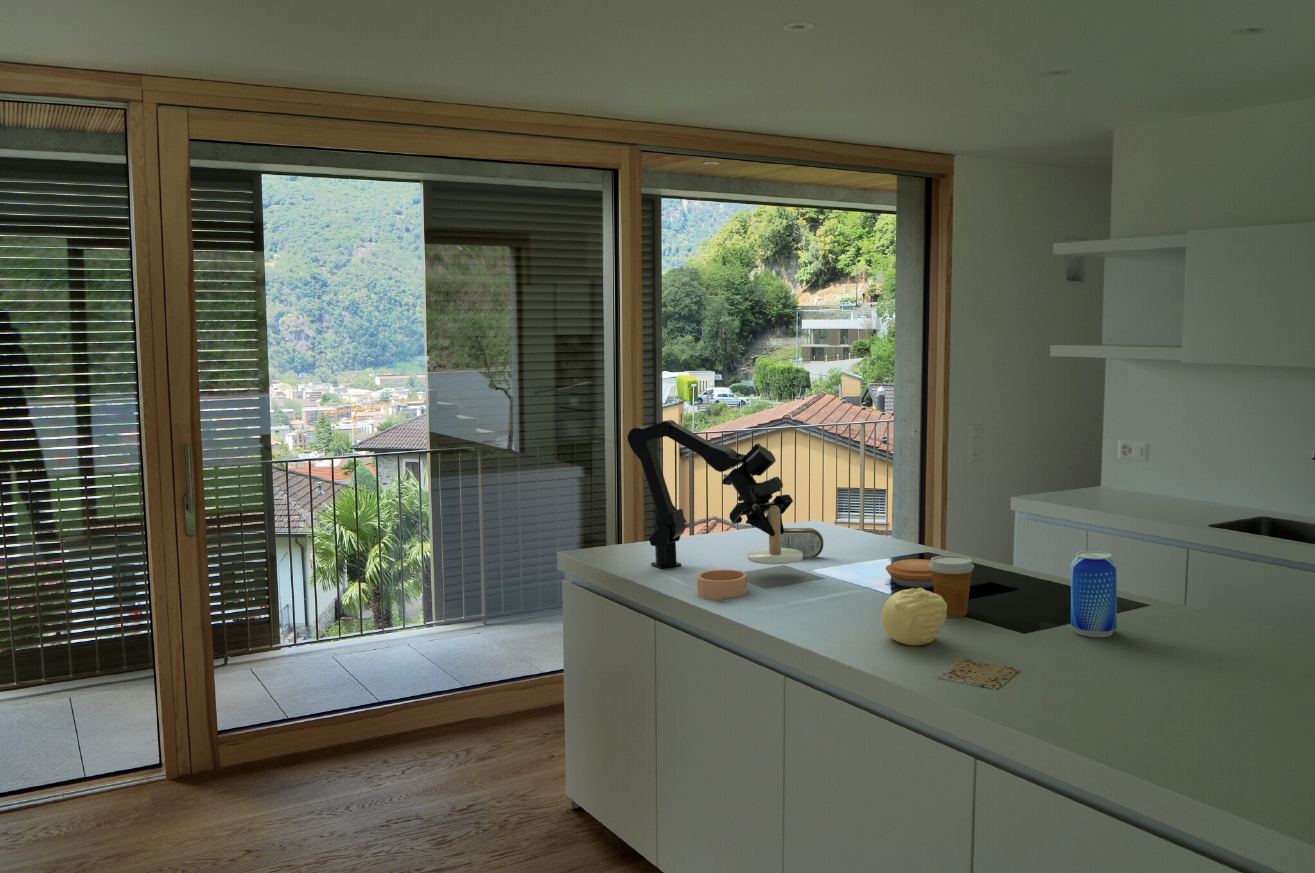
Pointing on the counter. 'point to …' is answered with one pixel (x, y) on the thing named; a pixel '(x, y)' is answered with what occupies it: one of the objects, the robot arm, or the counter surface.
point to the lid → (775, 545)
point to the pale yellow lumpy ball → (914, 616)
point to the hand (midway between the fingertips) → (778, 534)
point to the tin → (803, 541)
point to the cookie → (980, 672)
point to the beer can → (1093, 594)
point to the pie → (911, 573)
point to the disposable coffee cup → (952, 582)
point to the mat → (779, 576)
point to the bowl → (721, 584)
